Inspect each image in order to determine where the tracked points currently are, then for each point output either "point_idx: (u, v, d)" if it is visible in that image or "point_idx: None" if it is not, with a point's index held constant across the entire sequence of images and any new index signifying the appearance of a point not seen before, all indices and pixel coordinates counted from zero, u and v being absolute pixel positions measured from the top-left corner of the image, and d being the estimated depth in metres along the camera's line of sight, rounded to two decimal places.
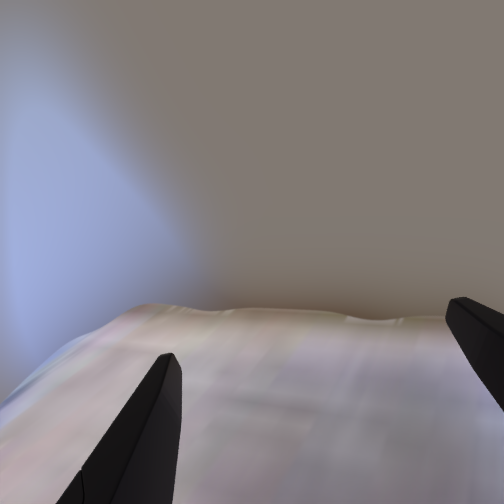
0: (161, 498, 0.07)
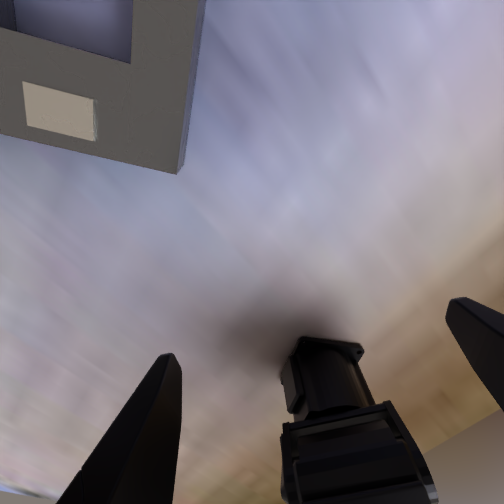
0: (161, 498, 0.07)
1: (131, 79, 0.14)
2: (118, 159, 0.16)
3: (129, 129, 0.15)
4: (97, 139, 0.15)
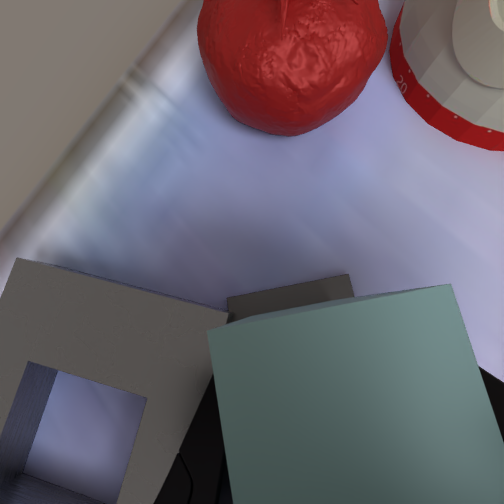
0: None
1: None
2: None
3: None
4: None
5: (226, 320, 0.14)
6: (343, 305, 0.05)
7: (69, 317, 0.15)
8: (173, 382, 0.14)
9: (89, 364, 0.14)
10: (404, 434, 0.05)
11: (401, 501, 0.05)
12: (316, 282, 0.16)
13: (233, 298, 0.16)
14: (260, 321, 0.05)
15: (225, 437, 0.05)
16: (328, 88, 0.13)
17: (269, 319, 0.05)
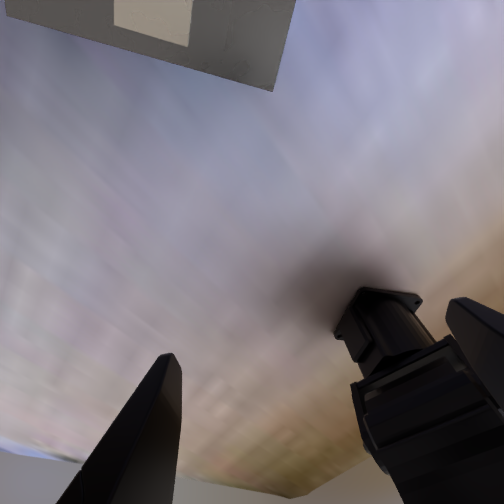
0: (161, 498, 0.07)
1: None
2: (211, 72, 0.14)
3: (228, 33, 0.13)
4: (190, 46, 0.13)
5: None
6: None
7: None
8: None
9: None
10: None
11: None
12: None
13: None
14: None
15: None
16: None
17: None
